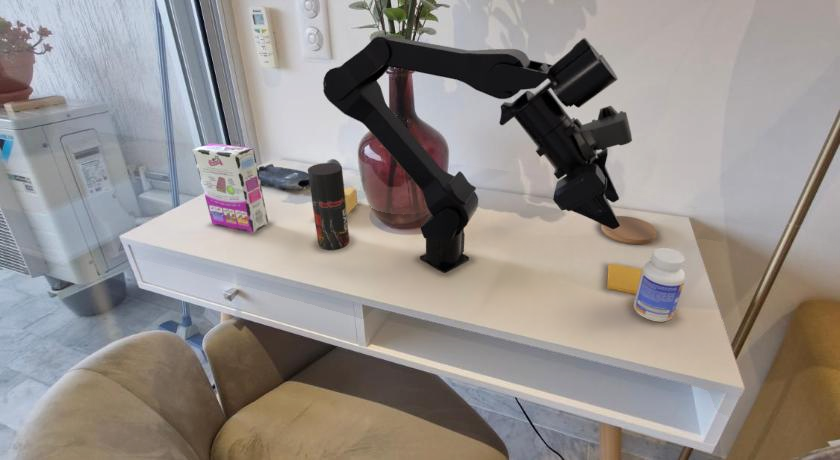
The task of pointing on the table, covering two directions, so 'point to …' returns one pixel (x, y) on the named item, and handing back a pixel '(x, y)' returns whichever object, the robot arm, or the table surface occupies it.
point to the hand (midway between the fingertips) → (616, 213)
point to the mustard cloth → (623, 278)
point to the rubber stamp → (347, 193)
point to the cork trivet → (631, 231)
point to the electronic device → (283, 178)
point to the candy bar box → (231, 186)
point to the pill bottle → (660, 285)
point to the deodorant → (329, 205)
